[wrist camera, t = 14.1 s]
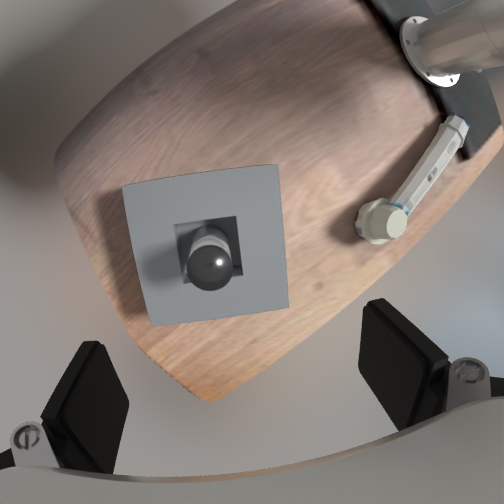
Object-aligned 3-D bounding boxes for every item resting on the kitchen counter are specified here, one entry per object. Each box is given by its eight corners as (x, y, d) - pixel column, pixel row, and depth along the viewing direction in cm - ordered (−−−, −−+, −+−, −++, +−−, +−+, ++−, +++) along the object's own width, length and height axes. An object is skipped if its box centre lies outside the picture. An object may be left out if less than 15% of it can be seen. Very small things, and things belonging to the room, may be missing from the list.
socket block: (268, 164, 34) (277, 164, 29) (279, 290, 39) (289, 307, 34) (133, 183, 32) (121, 186, 28) (158, 307, 37) (151, 326, 32)
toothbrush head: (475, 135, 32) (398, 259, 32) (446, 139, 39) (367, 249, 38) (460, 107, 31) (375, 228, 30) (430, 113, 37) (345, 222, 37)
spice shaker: (225, 222, 34) (230, 245, 25) (229, 256, 35) (235, 288, 26) (190, 226, 33) (183, 250, 25) (195, 260, 34) (190, 293, 26)
